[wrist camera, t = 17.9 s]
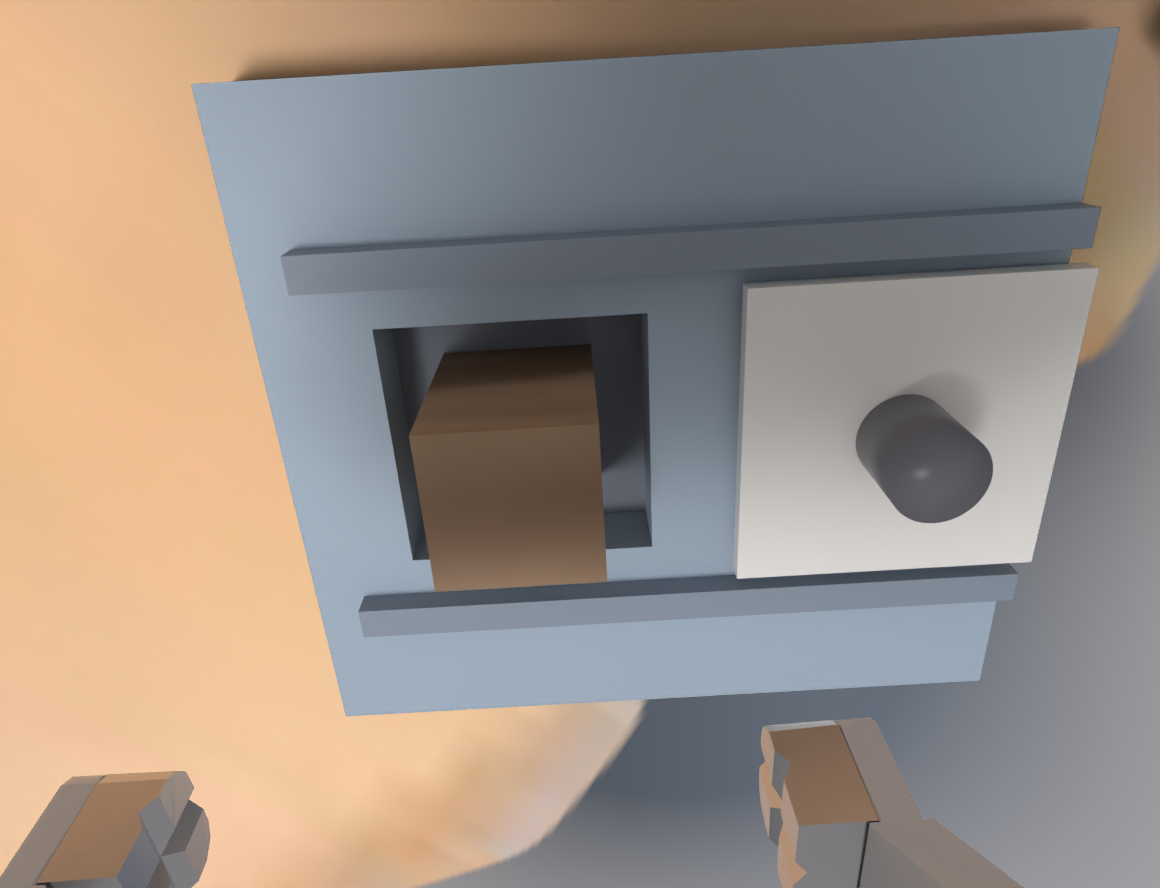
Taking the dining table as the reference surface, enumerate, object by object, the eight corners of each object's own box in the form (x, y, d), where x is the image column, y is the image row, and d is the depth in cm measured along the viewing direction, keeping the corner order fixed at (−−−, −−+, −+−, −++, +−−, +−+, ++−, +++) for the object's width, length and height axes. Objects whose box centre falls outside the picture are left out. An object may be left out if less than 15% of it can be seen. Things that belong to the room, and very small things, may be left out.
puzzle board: (231, 82, 21) (176, 84, 18) (1058, 32, 21) (1141, 25, 18) (362, 666, 29) (340, 733, 26) (947, 633, 29) (990, 696, 26)
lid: (742, 283, 21) (771, 316, 18) (1085, 262, 21) (1167, 292, 18) (732, 567, 24) (754, 631, 22) (1020, 550, 24) (1080, 613, 22)
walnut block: (443, 353, 24) (408, 435, 18) (590, 344, 24) (599, 424, 18) (461, 482, 26) (435, 591, 20) (597, 474, 26) (607, 581, 20)
